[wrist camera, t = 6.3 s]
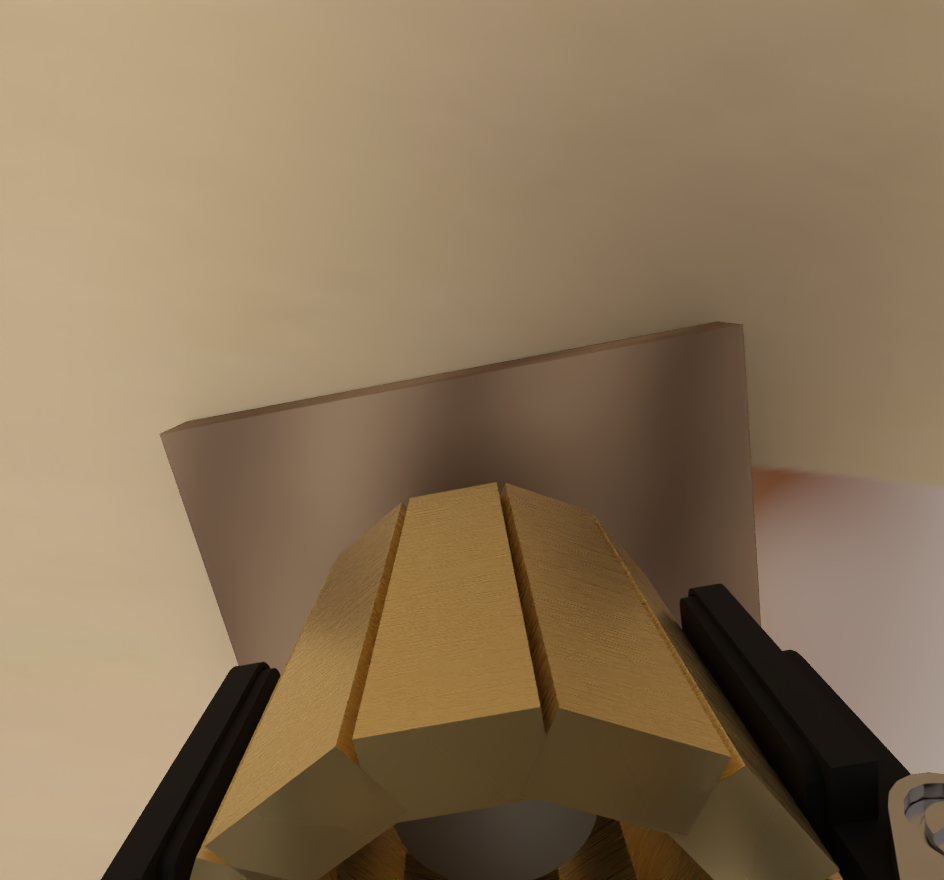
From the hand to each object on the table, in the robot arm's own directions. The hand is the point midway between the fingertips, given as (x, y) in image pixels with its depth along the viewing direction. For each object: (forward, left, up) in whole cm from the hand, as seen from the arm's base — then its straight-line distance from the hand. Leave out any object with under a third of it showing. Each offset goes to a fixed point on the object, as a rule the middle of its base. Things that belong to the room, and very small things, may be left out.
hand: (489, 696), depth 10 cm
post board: (0, 0, -8) cm, 8 cm away
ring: (0, 0, -2) cm, 2 cm away
